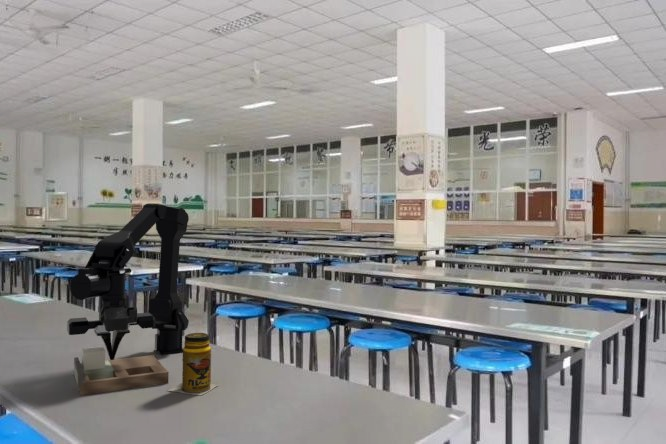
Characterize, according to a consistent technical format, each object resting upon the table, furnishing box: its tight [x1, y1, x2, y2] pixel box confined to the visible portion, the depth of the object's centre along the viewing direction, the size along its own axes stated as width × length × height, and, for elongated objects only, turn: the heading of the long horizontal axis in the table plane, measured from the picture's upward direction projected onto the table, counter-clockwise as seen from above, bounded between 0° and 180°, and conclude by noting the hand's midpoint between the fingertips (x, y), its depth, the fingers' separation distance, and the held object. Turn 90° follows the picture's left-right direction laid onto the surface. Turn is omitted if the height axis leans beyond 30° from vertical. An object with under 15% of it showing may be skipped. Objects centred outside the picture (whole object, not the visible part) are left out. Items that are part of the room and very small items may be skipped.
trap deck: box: [73, 354, 169, 396], centre depth 125 cm, size 18×16×4 cm
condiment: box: [167, 332, 218, 396], centre depth 120 cm, size 7×8×12 cm
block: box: [81, 345, 106, 370], centre depth 126 cm, size 4×4×4 cm
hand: (111, 359), depth 128 cm, fingers closed
